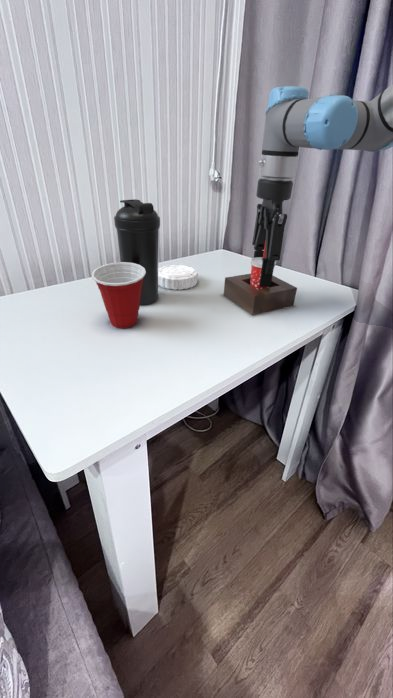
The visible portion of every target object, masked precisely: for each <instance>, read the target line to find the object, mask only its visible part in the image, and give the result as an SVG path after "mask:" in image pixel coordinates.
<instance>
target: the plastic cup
mask: <svg viewBox="0 0 393 698" xmlns="http://www.w3.org/2000/svg"><path fill="white" fill-rule="evenodd" d="M145 274H146V271H145V268H144V267H142V266H141V265H138V264H135V263H128V262H120V261H119V262H111V263H107V264H103V265H101V266H98V267H97V268H95V269H94V270H93V271H92V272H91V278H92V280H94V282H95V283H96V285H97V287H98V288H97V289H98V290H99V292H100V295H101V299H102V302H103V305H104V309H105V311H106V313H107V316H108V319H109V322H110V324H111V326H112V327H115V328H117V329H129V328H132V327H134V326H135V325H137V323H138V320H139V310H140V306H141V305H140V298H141V289H142V283H143V278H144V276H145Z"/></svg>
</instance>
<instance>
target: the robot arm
mask: <svg viewBox="0 0 393 698" xmlns="http://www.w3.org/2000/svg"><path fill="white" fill-rule="evenodd" d="M309 96H310V93H309V89H308V88H306V87H303V86H296V85H294V86H292V85H286V86H277V87H274V88H273V89H272V90H271V91H270V93H269V96H268V101H267V106H266V107H267V109H266V110H265V120H264V129H263V137H262V146H261V155H260V156H261V158H260V159H259V160H258V161H257V164H258V165H259V171H258V176H260V177H261V178H259V179H258V180H257V186H256V193H255V195H256V198H258V199H260V200H262V201H261V202H262V203H257V205H256V215H255V216H256V217H255V223H254V229H253V234H252V235H253V236H252V243H251V244H252V246H253V250H254V251H253V253H254V254H253V258H255V257H263V254H264V247H265V258H262V261H263V263H262V269H261V276H260V283H259V286H260V287H270V286H271V281H272V276H274V269H275V267H274V264H275V261H276V262H277V261H280V260H281V256H282V255H281V254H282V247H283V241H284V235H285V226H286V223H287V220H288V213H283V203H284V201H289V200H290V199H291V197H292V192H293V188H294V182H293V180H292V179H293V178H295V176H296V172H297V165H298V159H299V150H300V148H304V149H316V150H319V151H322V150H326V151H330V150H347V151H349V150H350V151H365V152H371V153H373V152H379V151H387V150H390V149H391V148H392V147H393V83H392V84H390V85H389V86H388V87H387V88H386V89H384V90H383V91H382V92H380V93H378V95H376V96H375V97H374V98H373V99H371V100H368V101H366V100H353V99H352V97H350V96H348V95H340V94H338V95H335V94H328V95H327V94H326V95H325V96H320V97H311V98H309ZM265 241H266V245H265ZM275 265H276V264H275Z"/></svg>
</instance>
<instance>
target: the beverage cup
mask: <svg viewBox="0 0 393 698" xmlns="http://www.w3.org/2000/svg"><path fill="white" fill-rule="evenodd" d="M265 245H266V241H265ZM263 251H264V254H263V257H255V258H254V257H252V258H250V265H251V267H250V274H251V279H250V285H251V286H252V287H254V288H256V289H257V290H258V289H264V288H269V287H260V286H259V283H260V276H261V269H262V263H263V261H262V258H265V247H264V250H263ZM276 264H277V260H276V261H275V264H274V268H275V267H276Z"/></svg>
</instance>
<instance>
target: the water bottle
mask: <svg viewBox="0 0 393 698" xmlns="http://www.w3.org/2000/svg"><path fill="white" fill-rule="evenodd" d="M119 202H120V203H123V206H122V207H121V208H120V209H118V210H117V211H116V214H115V215H114V217H113V220H114V221H113V222H114V227H115V229H116V235H117V243H118V251H119V252H118V253H119V260H120V261H119V262H128V263H135V264H138V265H141V266H142V267H144V268H145V271H146V274H145V276H144V278H143V283H142V289H141V298H140V306H147V305H148V306H149V305H152V304H154V303H156V302H158V300H159V285H158V268H159V242H160V241H159V236H160V234H159V233H160V232H159V230H160V227H161V217H160V216H159V215H158V212H157V211H156V210H155V207H154V204H153V203H151V202H142V201H141V200H140V199H134V198H133V199H122V200H119Z"/></svg>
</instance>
